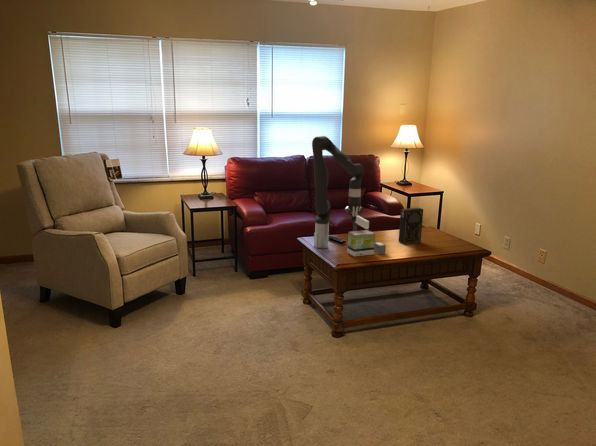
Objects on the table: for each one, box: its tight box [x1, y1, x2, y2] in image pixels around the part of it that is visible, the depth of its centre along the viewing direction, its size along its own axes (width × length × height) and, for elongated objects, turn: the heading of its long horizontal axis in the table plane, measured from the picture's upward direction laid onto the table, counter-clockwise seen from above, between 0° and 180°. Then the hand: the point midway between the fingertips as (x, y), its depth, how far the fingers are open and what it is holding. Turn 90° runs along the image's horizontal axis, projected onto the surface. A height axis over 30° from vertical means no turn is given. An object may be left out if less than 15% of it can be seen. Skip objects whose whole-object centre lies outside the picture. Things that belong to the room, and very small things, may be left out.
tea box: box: [346, 229, 376, 258], centre depth 305 cm, size 15×10×15 cm, turn 114°
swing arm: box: [354, 215, 370, 230], centre depth 304 cm, size 4×21×5 cm, turn 17°
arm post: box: [352, 222, 358, 231], centre depth 315 cm, size 6×6×18 cm
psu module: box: [374, 241, 387, 255], centre depth 309 cm, size 5×8×6 cm, turn 17°
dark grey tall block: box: [398, 207, 424, 245], centre depth 330 cm, size 16×9×25 cm, turn 113°
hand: (353, 221), depth 297 cm, fingers closed
